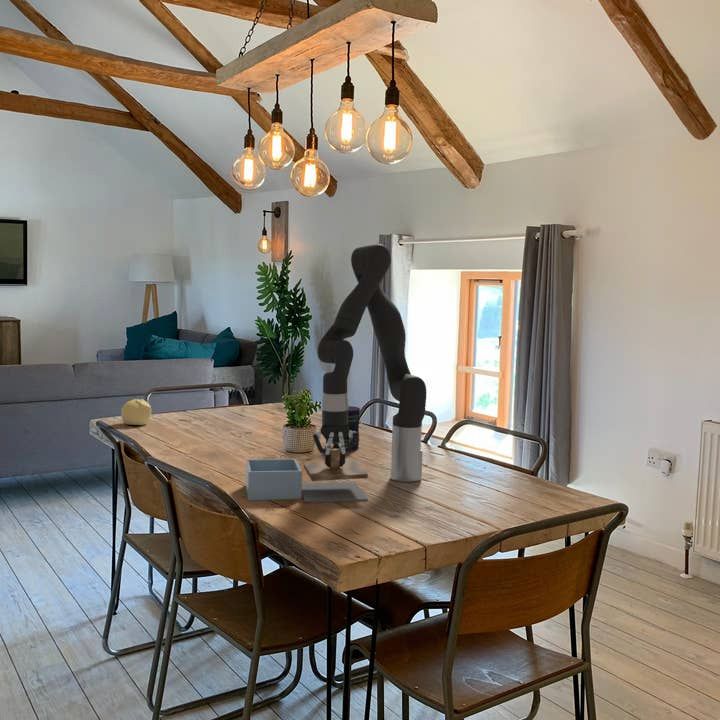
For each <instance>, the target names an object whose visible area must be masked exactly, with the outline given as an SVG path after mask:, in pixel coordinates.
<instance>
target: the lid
mask: <svg viewBox="0 0 720 720" xmlns="http://www.w3.org/2000/svg"><path fill="white" fill-rule="evenodd" d="M329 454H330V467H327V465H325V461H317V462H303V468H304V470H305V471H306V473H307V475H308V476H309V478H310V480H311V482H317V481H318V482H319V481H320V482H321V481H322V482H323V481H335V480H336V481H340V480H343V481H344V480H358V479H359V480H360V479H368V473H367V472H366V471H365V470H366V469H364V468H363V467H362V466H361V465H360V464H359V462H358V461H357V460H345V464H344V465H343V467H340V449H333V448H330V453H329Z"/></svg>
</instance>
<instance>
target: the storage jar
mask: <svg viewBox="0 0 720 720" xmlns="http://www.w3.org/2000/svg"><path fill="white" fill-rule="evenodd" d="M360 411H361V408H360V407H358V406H350V405H348V427H349V430H351V431H356V432H357V433H358V436H357V438H356V441H355V443H354V446H353V448H352V450H351V451H350V452H353V451H357V450H359V449H360V448H359V444H360V432H359V431H360V425H359V424H360V423H361V420H360V419H361V413H360ZM349 439H350V437H349V433H348V435H347V436H346V437H345V439H344V445H345V447H346V446H347V444H348V441H349ZM332 449H340V448H339V444H338V443H336V442H335V443H332Z"/></svg>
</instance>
